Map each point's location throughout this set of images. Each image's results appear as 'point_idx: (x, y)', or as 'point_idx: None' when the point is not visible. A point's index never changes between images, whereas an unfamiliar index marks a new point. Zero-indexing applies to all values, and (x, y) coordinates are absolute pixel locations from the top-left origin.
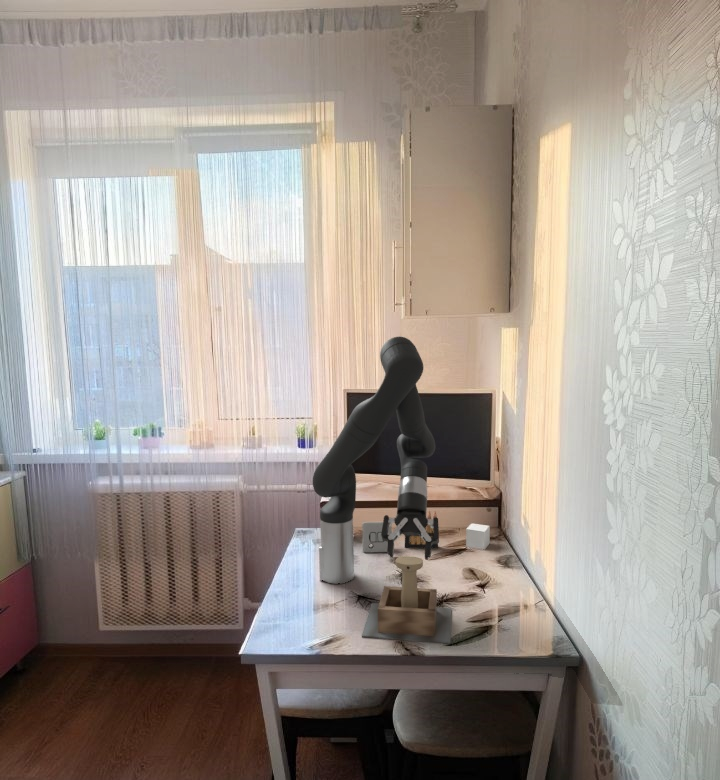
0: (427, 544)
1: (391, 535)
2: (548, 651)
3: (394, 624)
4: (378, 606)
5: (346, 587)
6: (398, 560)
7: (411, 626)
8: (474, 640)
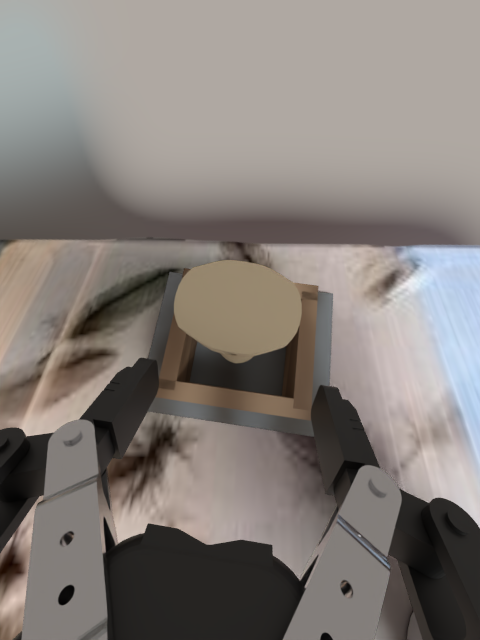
0: (106, 405)
1: (379, 506)
2: (9, 250)
3: None
4: (317, 298)
5: None
6: (288, 304)
7: None
8: (123, 283)
